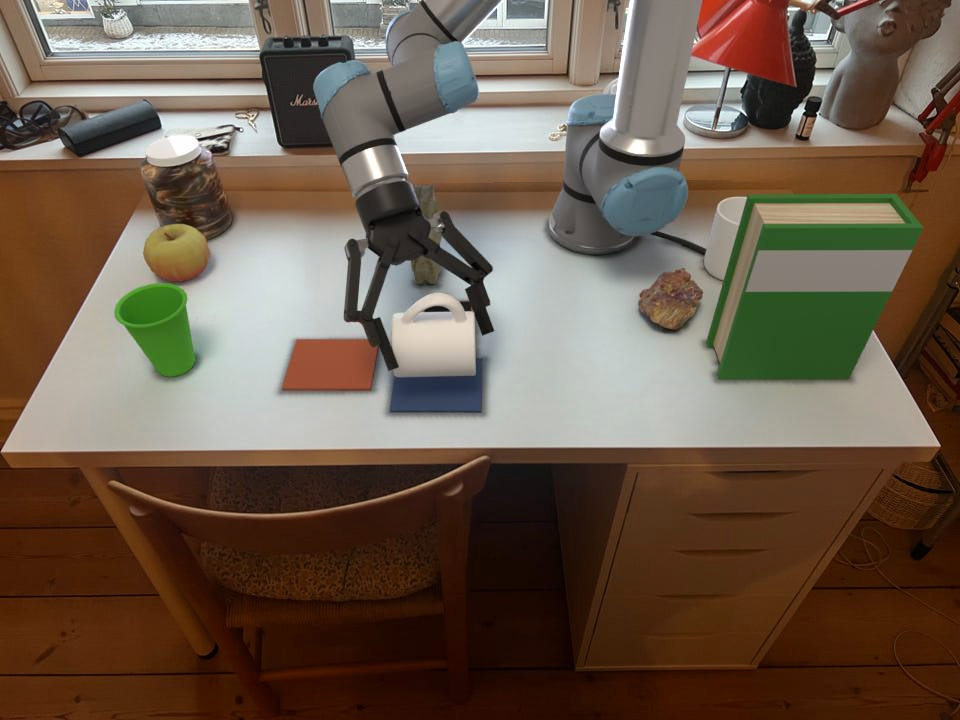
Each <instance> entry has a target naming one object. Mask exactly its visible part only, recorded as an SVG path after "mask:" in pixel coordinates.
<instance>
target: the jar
mask: <svg viewBox="0 0 960 720" xmlns="http://www.w3.org/2000/svg"><path fill="white" fill-rule="evenodd" d="M144 153H145V157H144V159H142V161H141V163H140V166H139V168H140V169H139V170H140V173H141V177H142V180H143V183H144V186H145V189H146V192H147V194H148V198H149V200H150V202H151V205H152V207H153V211H154V213H155V215H156V219H157V222H158V225H159V226H160V227H159V228H161V227H164V226H166V225H172V224H185V225H188V226H191V227H193V228H195V229H196V230H198V231H199V232H200V233H201V234H202V235H204V236H205V238H206V241H208V240H211V239H213V238H215V237H218V236H219V235H221V234H223V233H224V232H226V230H227V229H228V228H229V227H230V225H231V224H232V221H233V218H232V212H231V210H230V205H229V202H228V198H227V195H226V193H225V188H224V185H223V182H222V179H221V175H220V172H219V169H218V165H217V163H216V160H215V158H214V155H213V152H212V151H211V150H210V149H209V148H208V147H206V146H204V145H201V144H200V142H199V140H198V139H197V138H196V137H193V136H190V135H171V136H167V137H166V136H165V137H163V138H160V139H157V140H155V141H153V142H151V143H149V145H147V146H146V147H145V150H144Z"/></svg>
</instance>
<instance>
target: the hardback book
mask: <svg viewBox="0 0 960 720" xmlns="http://www.w3.org/2000/svg"><path fill="white" fill-rule="evenodd" d="M746 197H747V199H746V203H745V207H744V210H743V214H742V217H741V221H740V224H739V228H738V231H737V235H736V238H735V242H734V246H733V249H732V253H731V256H730V260H729V263H728V267H727V270H726V274H725V278H724V281H723V282H722V285H721V289H720V292H719V295H718V300H717V302H716V306H715V310H714V314H713V317H712V321H711V324H710V328H709V331H708V334H707V338H706V342H705V344H706V347H707V348H714V350H715V353H716V356H717V359H718V362H719V365H718V368H717V372H716V377H717V380H850V378H851V376H852V374H853V372H854V370H855V368H856V366H857V364H858V361H859V360H860V358H861V355H862V354H863V352H864V349H866V345H867V344H868V341H869V339H870V337H871V336H872V333H873V331H874V329H875V327H876V325H877V323H878V322H879V319H880V317H881V315H882V313H883V311H884V309H885V307H886V305H887V303H888V301H889V299H890V297H891V295H892V293H893V292H894V291H893V290H894V289H895V287H896V285H897V283H898V280H900V279H899V278H900V277H901V274H902V272H903V271H904V268H905V266H906V264H907V262H908V260H909V258H910V257H911V254H912V252H913V250H914V248H915V246H916V244H917V242H918V240H919V238H920V237H921V235H922V232H923V230H924V226H923V225H922V224H921V223H920V221H919V220H918V219H917V218H916V216H915V215H914V214H913V213H912V212H911V211H910V209H909V208H908V207H907V206H906V204H905V203H904V202H903V201H902V199H901V198H900V197H899V196H898V195H897V193H813V194H812V193H811V194H810V193H806V194H805V193H797V194H795V193H794V194H791V193H789V194H781V193H780V194H779V193H778V194H769V193H768V194H764V193H763V194H747V195H746Z"/></svg>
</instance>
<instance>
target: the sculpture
mask: <svg viewBox="0 0 960 720" xmlns="http://www.w3.org/2000/svg"><path fill="white" fill-rule="evenodd" d="M412 186H413V189H414V191H415V194H416V197H417V199H418V202H419V205H420V208H421V211H422V214H423V216H424V217H425V218H426V219H427V220H429V219H432V218H434V215H435V214H437V213H438V212H439V210H440V205H439V202H438V201H437V199H436V196H435V186H434V184H429V185H424V186H423V185H419V184H412ZM428 238H430V239H431V240H433V241H435V242H436V243H438V244H439V245H440V244H441V242H442V238H443V237H442V235H441V234H440V233H437V232H436V231H435V230H434V229H431V230H430V234H429V237H428ZM440 246H441V245H440ZM410 266H411V271H412V273H413V278H414V282H415V284H424V283H425V281H427V282H428V284H430V285H434V284H437V282H438V276H439V275H440V273H441V270H442V268H443V267H442V266H440V265H439V264H437V263H436V262H434V261H432V260H431V259H427V258H425V257H424V256H422V255H421V256H420V257H419V258H418V259H416V260H413V261H410Z"/></svg>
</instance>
